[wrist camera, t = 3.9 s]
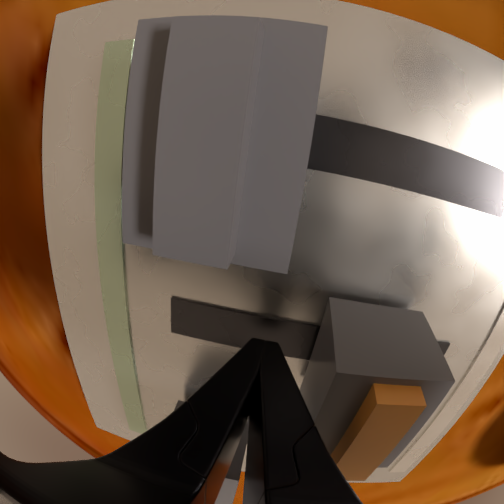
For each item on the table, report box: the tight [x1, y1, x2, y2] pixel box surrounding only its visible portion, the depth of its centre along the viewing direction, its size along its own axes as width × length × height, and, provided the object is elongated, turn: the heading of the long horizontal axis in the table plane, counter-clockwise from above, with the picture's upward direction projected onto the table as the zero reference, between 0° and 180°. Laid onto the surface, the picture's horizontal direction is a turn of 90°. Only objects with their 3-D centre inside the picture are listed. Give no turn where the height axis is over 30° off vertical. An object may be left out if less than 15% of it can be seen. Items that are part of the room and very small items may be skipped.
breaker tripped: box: [300, 297, 455, 481], centre depth 8 cm, size 3×4×4 cm
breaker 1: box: [122, 15, 328, 274], centre depth 6 cm, size 3×4×4 cm
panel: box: [42, 0, 504, 482], centre depth 11 cm, size 18×20×2 cm
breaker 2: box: [174, 400, 249, 504], centre depth 11 cm, size 3×4×4 cm
